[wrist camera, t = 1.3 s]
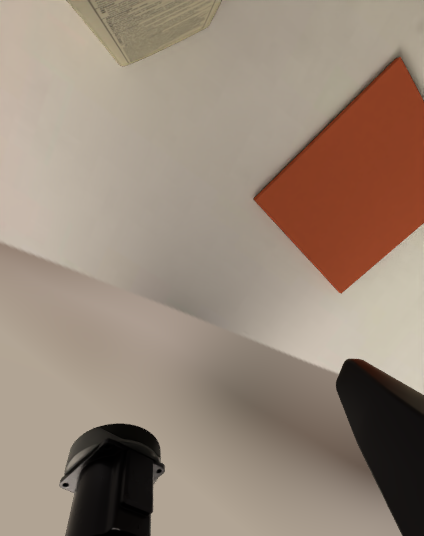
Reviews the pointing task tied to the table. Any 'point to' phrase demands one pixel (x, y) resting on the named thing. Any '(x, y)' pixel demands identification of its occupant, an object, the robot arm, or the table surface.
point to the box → (143, 24)
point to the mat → (356, 181)
